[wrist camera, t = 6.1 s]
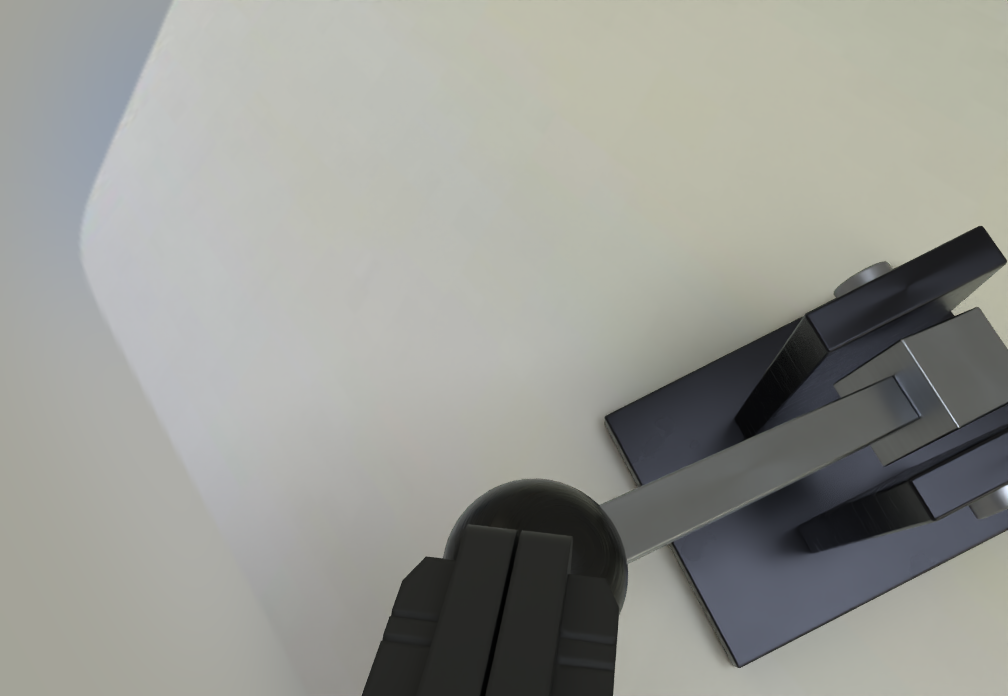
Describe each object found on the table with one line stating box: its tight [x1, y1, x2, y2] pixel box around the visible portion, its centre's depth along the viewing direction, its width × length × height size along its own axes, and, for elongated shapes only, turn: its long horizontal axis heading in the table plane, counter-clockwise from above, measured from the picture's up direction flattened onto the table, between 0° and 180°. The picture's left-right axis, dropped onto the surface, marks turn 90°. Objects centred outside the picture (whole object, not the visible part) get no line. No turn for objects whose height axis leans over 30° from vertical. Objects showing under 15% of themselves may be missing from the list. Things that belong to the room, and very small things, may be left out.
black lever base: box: [605, 226, 1008, 668], centre depth 26 cm, size 12×9×13 cm
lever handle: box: [443, 307, 1008, 614], centre depth 19 cm, size 14×3×3 cm, turn 116°
